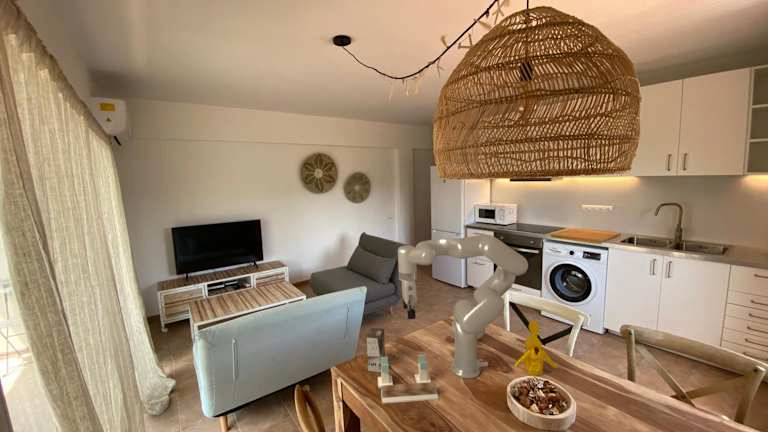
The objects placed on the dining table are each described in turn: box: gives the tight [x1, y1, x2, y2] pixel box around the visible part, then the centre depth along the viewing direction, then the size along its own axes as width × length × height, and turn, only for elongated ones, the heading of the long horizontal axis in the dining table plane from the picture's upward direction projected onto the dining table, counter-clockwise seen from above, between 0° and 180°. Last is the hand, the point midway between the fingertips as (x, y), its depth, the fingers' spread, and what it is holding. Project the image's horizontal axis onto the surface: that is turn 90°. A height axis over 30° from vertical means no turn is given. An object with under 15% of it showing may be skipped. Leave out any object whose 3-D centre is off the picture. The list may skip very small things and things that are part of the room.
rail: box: [381, 381, 438, 399], centre depth 123 cm, size 22×3×3 cm, turn 93°
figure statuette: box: [514, 319, 559, 376], centre depth 134 cm, size 18×8×22 cm, turn 84°
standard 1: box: [377, 356, 394, 389], centre depth 130 cm, size 6×6×10 cm
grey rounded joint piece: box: [451, 320, 486, 340], centre depth 163 cm, size 17×17×7 cm
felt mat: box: [380, 388, 440, 404], centre depth 123 cm, size 22×7×1 cm, turn 93°
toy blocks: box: [414, 354, 432, 383], centre depth 131 cm, size 6×6×10 cm
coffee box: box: [366, 327, 386, 373], centre depth 141 cm, size 9×6×16 cm
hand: (409, 313), depth 133 cm, fingers open, 9 cm apart
